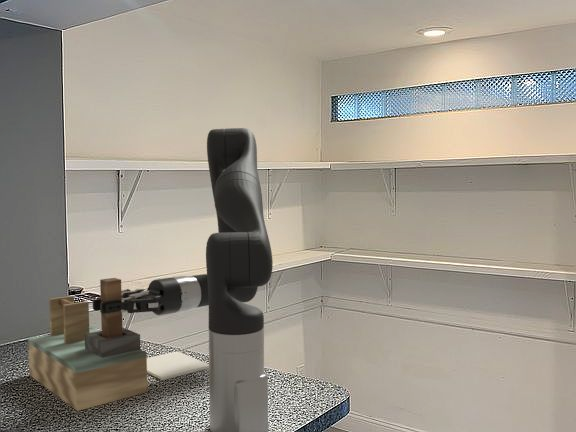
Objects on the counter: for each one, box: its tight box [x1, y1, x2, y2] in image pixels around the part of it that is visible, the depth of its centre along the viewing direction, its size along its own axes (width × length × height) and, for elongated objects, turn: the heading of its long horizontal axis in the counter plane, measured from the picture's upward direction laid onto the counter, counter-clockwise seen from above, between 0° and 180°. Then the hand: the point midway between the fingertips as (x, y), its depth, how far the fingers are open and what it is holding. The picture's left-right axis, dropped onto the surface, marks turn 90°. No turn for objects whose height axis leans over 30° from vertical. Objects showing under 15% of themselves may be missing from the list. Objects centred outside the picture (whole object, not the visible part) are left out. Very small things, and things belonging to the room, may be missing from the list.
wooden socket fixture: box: [27, 295, 148, 412], centre depth 122 cm, size 26×14×16 cm, turn 41°
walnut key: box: [99, 277, 123, 339], centre depth 118 cm, size 3×3×14 cm
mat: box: [147, 351, 209, 381], centre depth 133 cm, size 14×12×1 cm
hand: (97, 306), depth 116 cm, fingers closed on walnut key, 3 cm apart
